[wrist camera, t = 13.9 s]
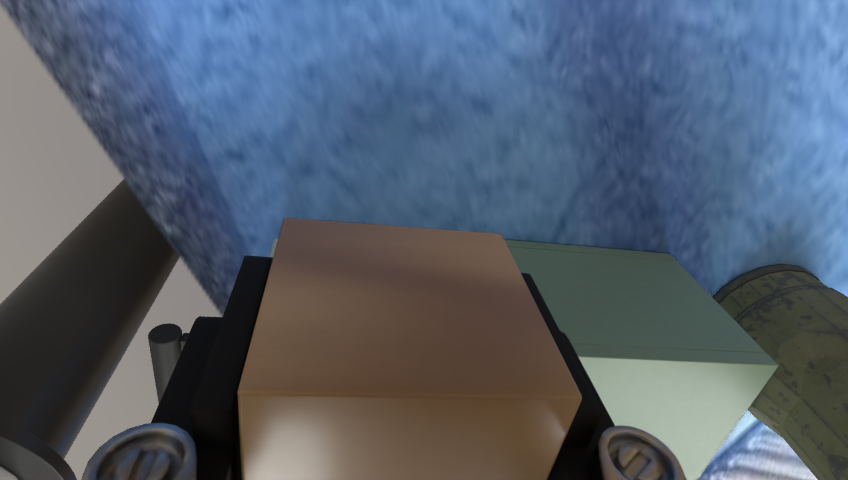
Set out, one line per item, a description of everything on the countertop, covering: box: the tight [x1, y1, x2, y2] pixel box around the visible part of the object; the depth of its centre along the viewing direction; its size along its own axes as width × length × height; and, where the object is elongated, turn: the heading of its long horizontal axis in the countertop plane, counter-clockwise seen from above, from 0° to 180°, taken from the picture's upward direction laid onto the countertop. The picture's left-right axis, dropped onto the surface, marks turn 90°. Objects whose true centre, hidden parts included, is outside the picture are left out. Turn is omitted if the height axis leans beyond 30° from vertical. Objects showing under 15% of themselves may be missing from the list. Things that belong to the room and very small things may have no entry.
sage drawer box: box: [504, 239, 778, 480], centre depth 29 cm, size 15×13×10 cm
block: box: [237, 218, 582, 480], centre depth 9 cm, size 4×4×4 cm
